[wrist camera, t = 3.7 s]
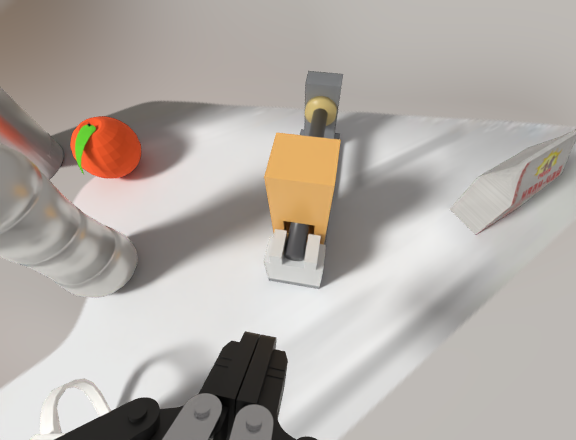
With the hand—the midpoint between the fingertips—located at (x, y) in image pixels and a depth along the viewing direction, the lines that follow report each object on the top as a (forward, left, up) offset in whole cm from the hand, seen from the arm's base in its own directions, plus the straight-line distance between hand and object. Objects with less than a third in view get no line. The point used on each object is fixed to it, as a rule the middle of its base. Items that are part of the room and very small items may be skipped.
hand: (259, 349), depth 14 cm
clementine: (-9, +28, -14) cm, 33 cm away
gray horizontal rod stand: (+10, +14, -14) cm, 22 cm away
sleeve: (+7, +10, -10) cm, 16 cm away
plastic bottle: (-12, +15, -14) cm, 24 cm away
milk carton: (+27, +5, -14) cm, 31 cm away
